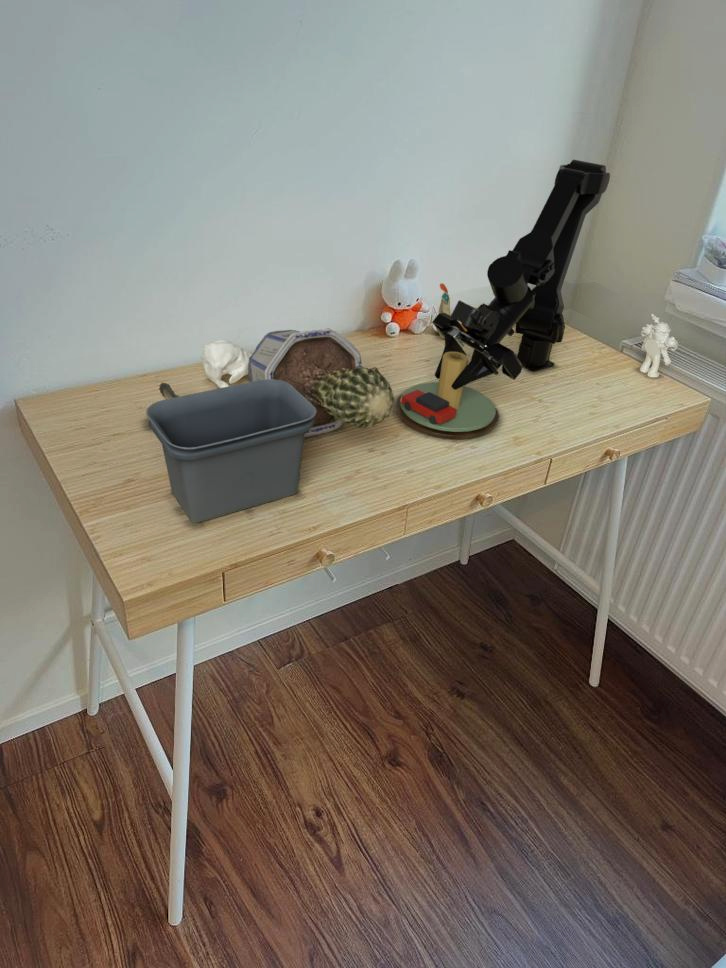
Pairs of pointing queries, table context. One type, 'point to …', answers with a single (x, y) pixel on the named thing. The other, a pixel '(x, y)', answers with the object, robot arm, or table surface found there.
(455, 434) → the display stand
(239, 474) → the storage bin
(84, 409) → the table surface
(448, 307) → the rattle
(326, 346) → the potted plant
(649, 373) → the white character figurine
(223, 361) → the white crumpled lump
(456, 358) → the turntable
